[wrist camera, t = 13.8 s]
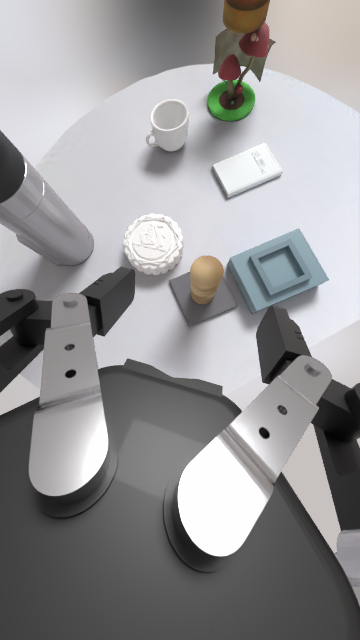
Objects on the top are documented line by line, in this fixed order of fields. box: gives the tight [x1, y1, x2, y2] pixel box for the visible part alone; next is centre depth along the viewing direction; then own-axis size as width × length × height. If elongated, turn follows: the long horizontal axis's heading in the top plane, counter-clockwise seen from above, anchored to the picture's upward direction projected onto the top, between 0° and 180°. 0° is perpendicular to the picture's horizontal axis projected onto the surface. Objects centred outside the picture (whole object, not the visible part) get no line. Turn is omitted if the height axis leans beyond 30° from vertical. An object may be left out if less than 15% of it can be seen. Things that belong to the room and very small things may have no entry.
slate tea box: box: [227, 229, 329, 314], centre depth 36 cm, size 14×11×4 cm
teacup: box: [146, 99, 189, 151], centre depth 41 cm, size 10×8×5 cm
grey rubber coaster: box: [170, 272, 237, 326], centre depth 38 cm, size 10×10×1 cm
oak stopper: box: [190, 256, 224, 305], centre depth 32 cm, size 5×5×11 cm
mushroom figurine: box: [208, 0, 275, 121], centre depth 37 cm, size 12×13×15 cm
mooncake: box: [123, 214, 184, 275], centre depth 39 cm, size 12×12×4 cm
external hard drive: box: [212, 143, 282, 198], centre depth 42 cm, size 2×8×12 cm
